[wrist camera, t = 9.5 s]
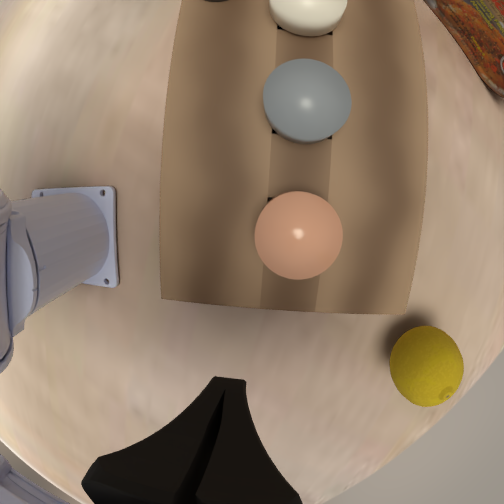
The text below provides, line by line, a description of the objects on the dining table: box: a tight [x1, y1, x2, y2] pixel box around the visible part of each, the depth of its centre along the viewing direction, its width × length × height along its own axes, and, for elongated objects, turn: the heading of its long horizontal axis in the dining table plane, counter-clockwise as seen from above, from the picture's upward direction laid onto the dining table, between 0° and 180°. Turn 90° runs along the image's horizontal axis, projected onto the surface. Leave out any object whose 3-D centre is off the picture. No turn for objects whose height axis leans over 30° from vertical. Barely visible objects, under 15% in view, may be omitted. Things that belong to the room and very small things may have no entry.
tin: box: [424, 0, 504, 98], centre depth 11 cm, size 15×3×8 cm, turn 34°
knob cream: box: [269, 0, 347, 36], centre depth 13 cm, size 4×4×5 cm
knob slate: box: [263, 59, 352, 144], centre depth 15 cm, size 4×4×5 cm
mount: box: [160, 0, 428, 314], centre depth 16 cm, size 16×24×5 cm, turn 177°
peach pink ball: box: [254, 191, 343, 280], centre depth 17 cm, size 4×4×5 cm
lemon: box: [390, 326, 464, 407], centre depth 18 cm, size 6×6×8 cm
